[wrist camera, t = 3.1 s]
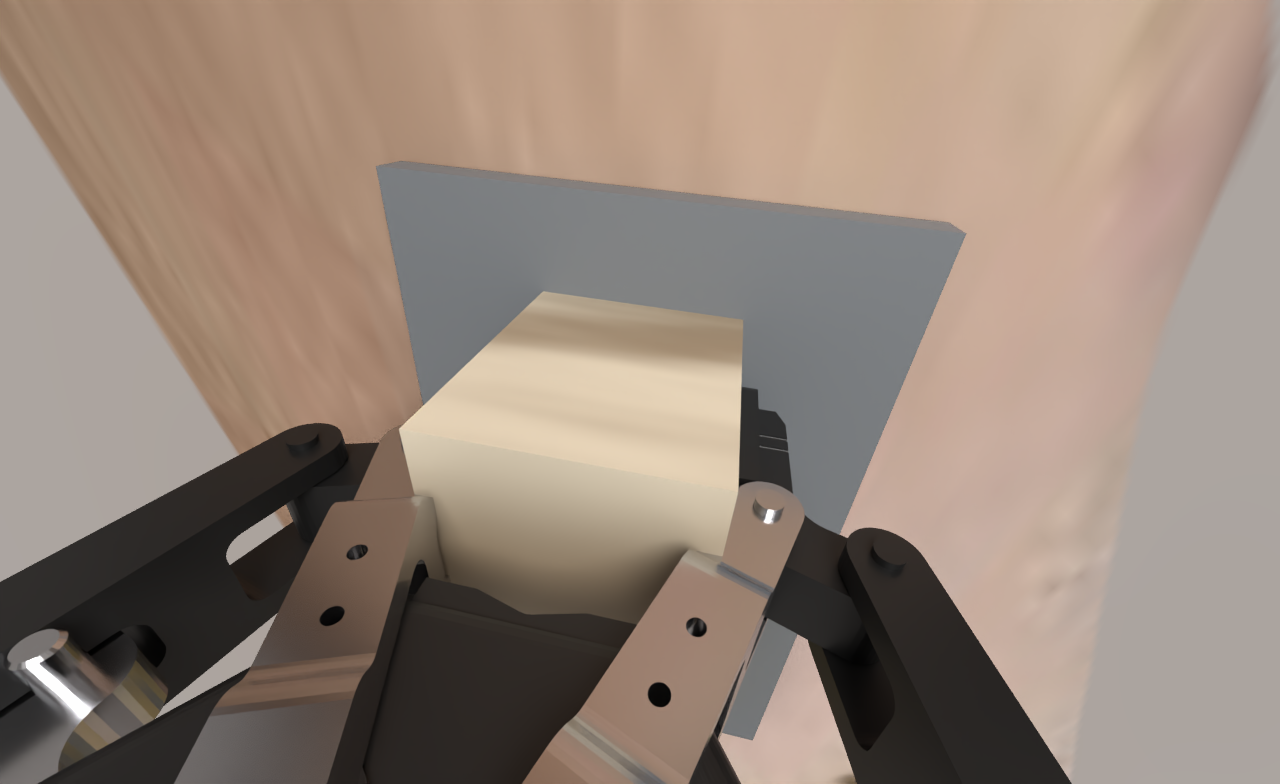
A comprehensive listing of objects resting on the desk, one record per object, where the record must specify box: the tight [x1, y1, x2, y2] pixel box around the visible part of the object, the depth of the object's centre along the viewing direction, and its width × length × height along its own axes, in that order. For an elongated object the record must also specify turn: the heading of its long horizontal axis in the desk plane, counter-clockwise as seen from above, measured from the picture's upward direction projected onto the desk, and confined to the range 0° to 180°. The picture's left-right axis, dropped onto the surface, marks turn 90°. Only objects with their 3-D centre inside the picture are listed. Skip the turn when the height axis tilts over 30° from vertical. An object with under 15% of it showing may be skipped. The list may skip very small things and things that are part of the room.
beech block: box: [399, 291, 743, 624], centre depth 11 cm, size 5×5×6 cm
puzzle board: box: [376, 161, 966, 740], centre depth 16 cm, size 22×13×3 cm, turn 176°
